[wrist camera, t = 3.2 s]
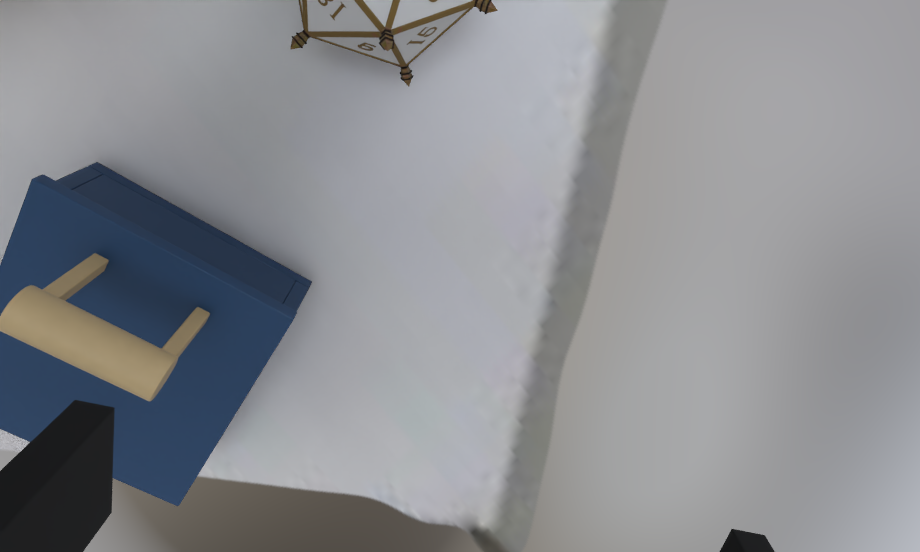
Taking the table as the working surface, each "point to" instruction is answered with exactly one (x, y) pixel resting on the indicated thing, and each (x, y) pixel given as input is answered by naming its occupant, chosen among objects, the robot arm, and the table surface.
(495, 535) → the table surface
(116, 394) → the lunchbox lid
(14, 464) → the robot arm
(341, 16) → the game die
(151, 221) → the box
